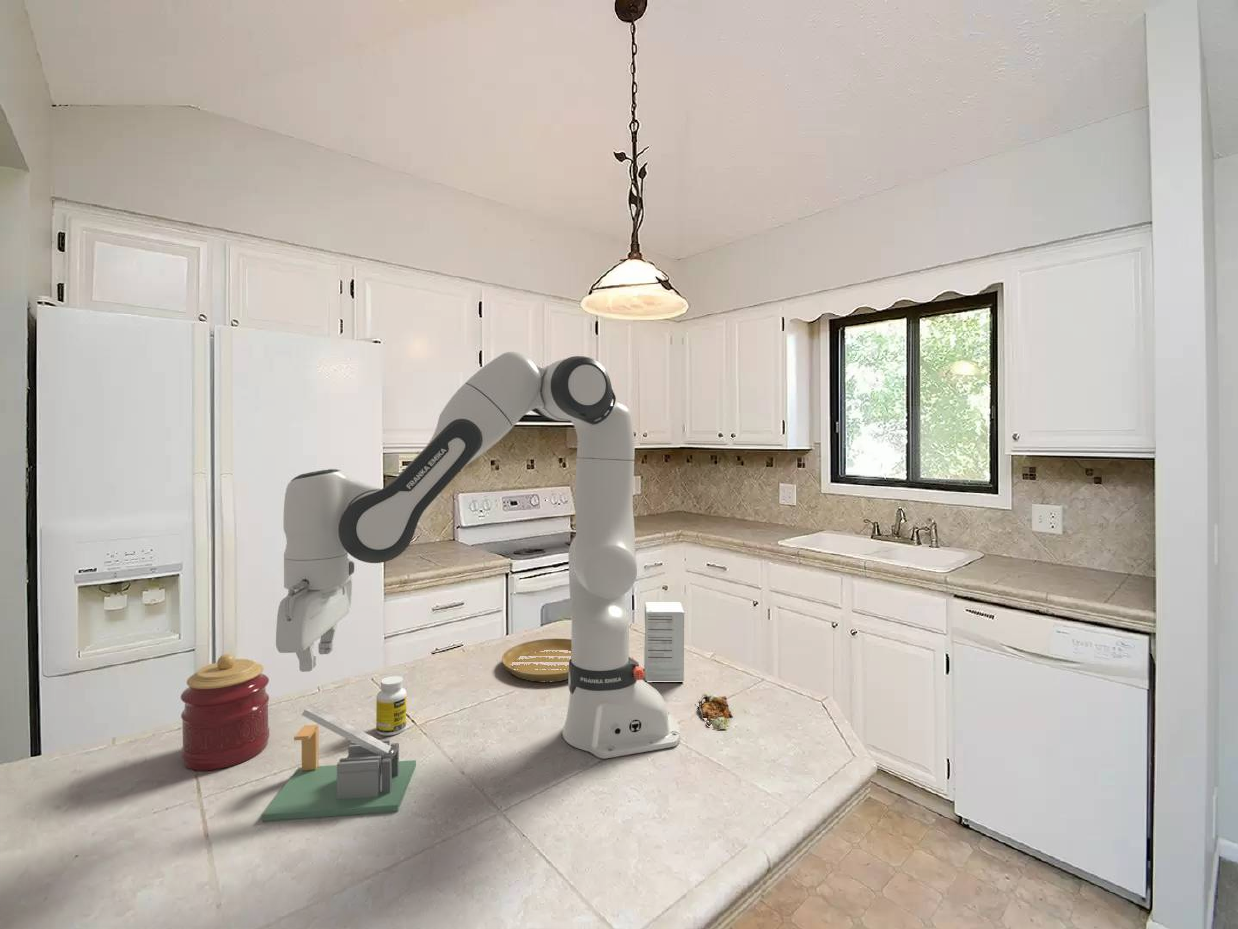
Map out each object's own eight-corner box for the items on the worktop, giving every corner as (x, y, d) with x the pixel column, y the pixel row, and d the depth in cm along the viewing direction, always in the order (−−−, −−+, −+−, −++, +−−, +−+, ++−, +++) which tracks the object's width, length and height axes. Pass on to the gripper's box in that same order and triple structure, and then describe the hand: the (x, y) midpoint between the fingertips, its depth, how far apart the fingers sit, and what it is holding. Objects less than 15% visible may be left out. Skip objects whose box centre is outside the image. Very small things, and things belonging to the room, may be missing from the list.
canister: (285, 743, 105) (284, 648, 105) (210, 780, 93) (208, 674, 93) (241, 728, 111) (240, 638, 110) (165, 761, 99) (163, 661, 98)
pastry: (707, 733, 111) (708, 715, 111) (693, 705, 123) (693, 689, 123) (742, 731, 112) (742, 713, 112) (724, 704, 124) (724, 688, 123)
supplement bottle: (396, 738, 107) (395, 687, 107) (370, 735, 108) (370, 684, 108) (412, 724, 113) (411, 675, 112) (387, 721, 114) (387, 673, 113)
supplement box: (684, 684, 133) (685, 612, 133) (645, 683, 133) (645, 612, 133) (680, 668, 143) (681, 601, 142) (643, 667, 143) (644, 601, 142)
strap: (394, 754, 93) (399, 747, 93) (389, 765, 90) (394, 757, 90) (307, 708, 91) (312, 701, 91) (299, 717, 88) (304, 709, 88)
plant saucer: (511, 694, 128) (511, 679, 128) (494, 657, 150) (494, 644, 150) (612, 678, 136) (612, 665, 136) (582, 646, 159) (582, 634, 159)
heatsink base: (415, 766, 98) (415, 729, 98) (397, 811, 86) (397, 769, 86) (298, 773, 96) (298, 735, 95) (262, 821, 83) (261, 778, 83)
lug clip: (318, 765, 96) (318, 724, 96) (308, 779, 92) (308, 736, 92) (304, 766, 96) (304, 724, 95) (294, 780, 92) (294, 736, 92)
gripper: (310, 589, 79) (311, 687, 79) (358, 560, 99) (359, 639, 100) (262, 590, 78) (263, 690, 79) (320, 561, 99) (320, 640, 99)
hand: (317, 661), depth 89 cm, fingers open, 6 cm apart
